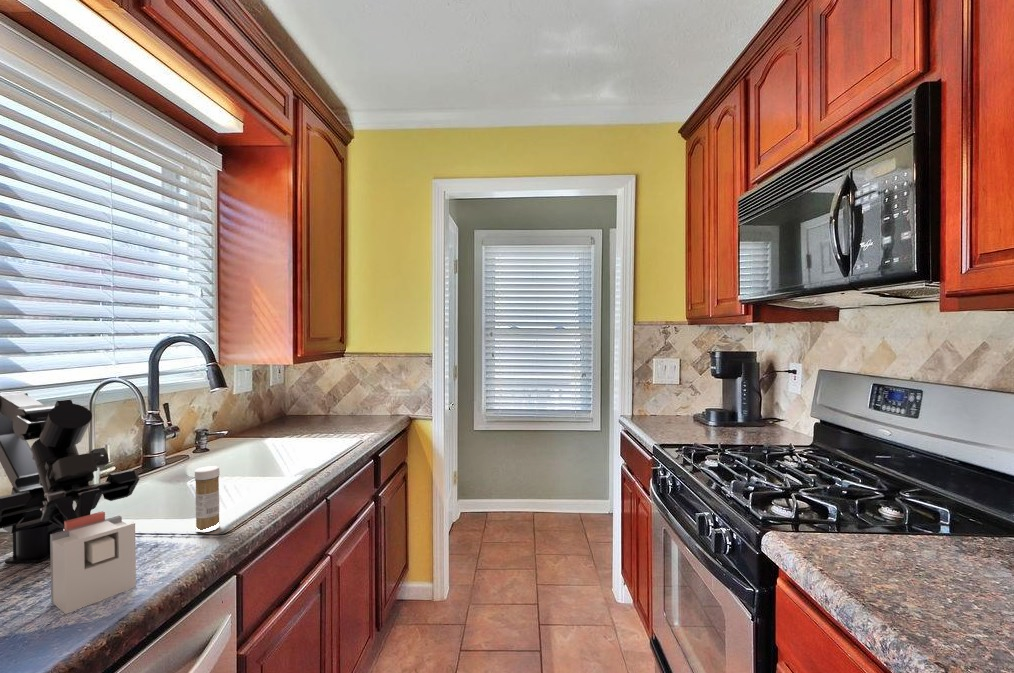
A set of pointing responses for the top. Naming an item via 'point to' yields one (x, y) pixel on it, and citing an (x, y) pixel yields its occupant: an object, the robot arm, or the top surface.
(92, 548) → the button
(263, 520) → the top surface
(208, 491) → the sprinkles bottle
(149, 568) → the top surface
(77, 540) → the box
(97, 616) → the top surface
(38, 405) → the robot arm
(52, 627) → the top surface
